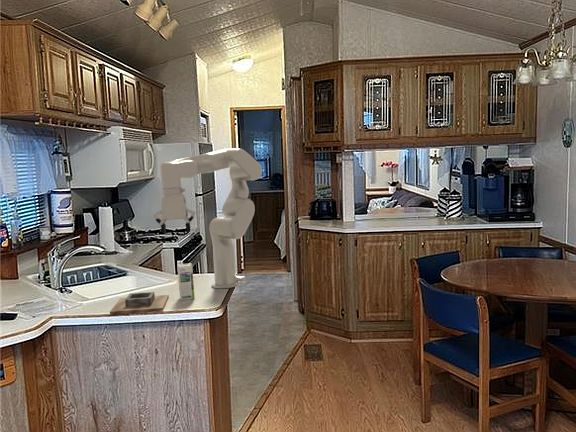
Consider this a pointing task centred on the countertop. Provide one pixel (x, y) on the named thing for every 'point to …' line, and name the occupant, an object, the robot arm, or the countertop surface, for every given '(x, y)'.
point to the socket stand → (140, 303)
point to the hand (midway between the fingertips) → (176, 233)
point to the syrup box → (186, 281)
